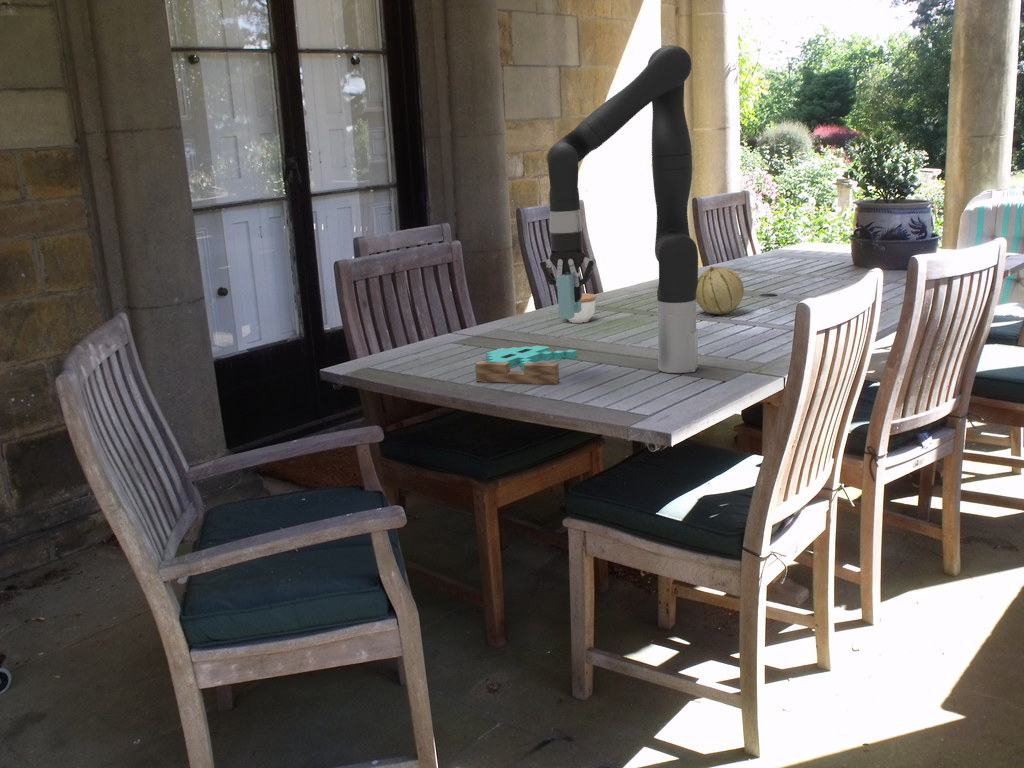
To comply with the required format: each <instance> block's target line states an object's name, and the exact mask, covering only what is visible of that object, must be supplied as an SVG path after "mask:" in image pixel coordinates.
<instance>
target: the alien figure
mask: <svg viewBox="0 0 1024 768" xmlns="http://www.w3.org/2000/svg"><path fill="white" fill-rule="evenodd" d="M550 349H551V347H550V346H543V345H533V346H521V347H518V346H517V347H516V346H513V347H510V348H507V347H506V348H505V347H501V348H498V349H494V350H491V351H488V352H485V360H486V359H487V360H486V361H497V362H510V368H512V367H514V366H517V365H519V367H520V369H521V370H522V371H524V364H526V363H527V362H538V361H541V360H543V361H550V360H553V359H555V360H559V359H560V360H562V358H563V359H570V358H572V359H575V358H577V357H578V353H577V351H578V350H576V349H575V350H574V349H568V350H555V351H551V350H550ZM574 357H575V358H574Z"/></svg>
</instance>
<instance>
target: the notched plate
mask: <svg viewBox="0 0 1024 768" xmlns="http://www.w3.org/2000/svg"><path fill="white" fill-rule="evenodd" d="M556 279H557V287H556V291H557V290H558V298H557V304H558V306H557V307H558V320H568V319H572V318H573V317H574V313H579V312H580V311H582V309H581V299H580V300H579V302H575V296H574V287H575V285H574V279H573V274H571V273H569V272H566V273H562V275H559V276H558V277H556Z"/></svg>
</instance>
